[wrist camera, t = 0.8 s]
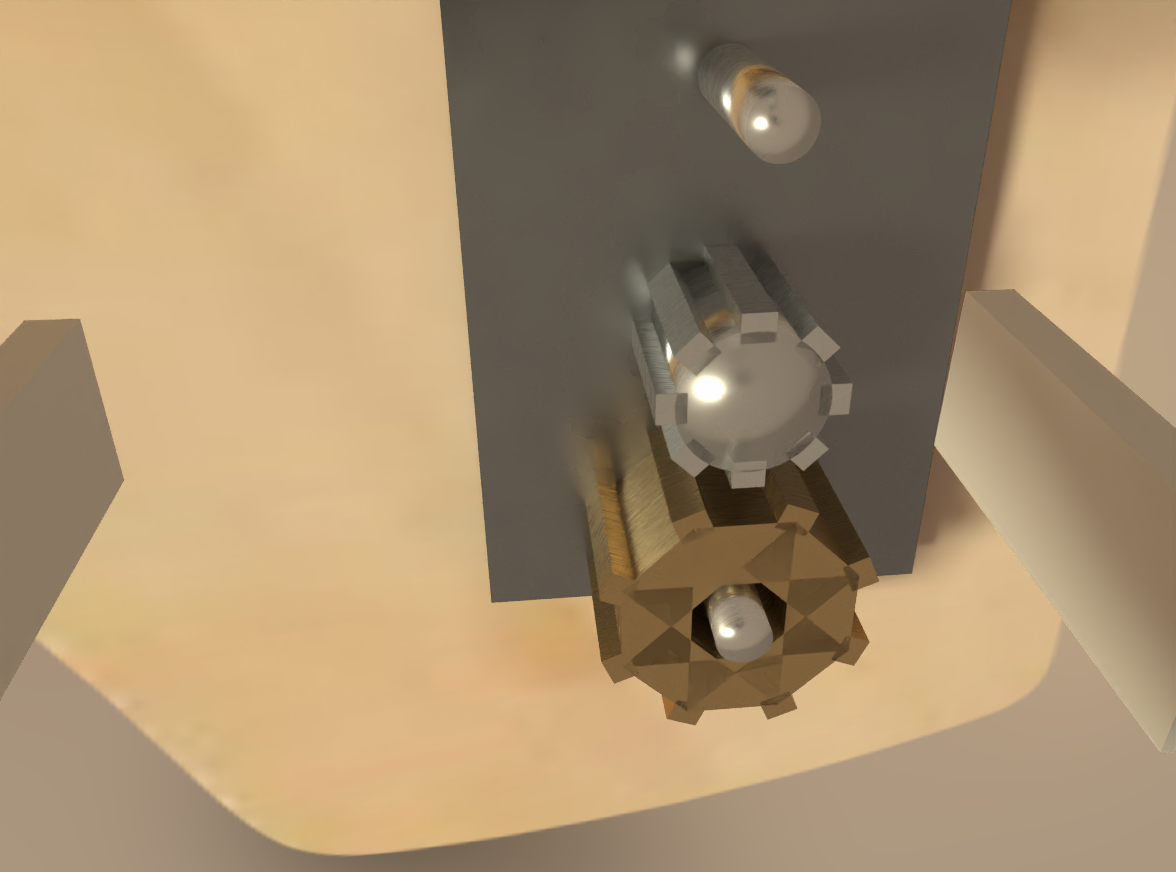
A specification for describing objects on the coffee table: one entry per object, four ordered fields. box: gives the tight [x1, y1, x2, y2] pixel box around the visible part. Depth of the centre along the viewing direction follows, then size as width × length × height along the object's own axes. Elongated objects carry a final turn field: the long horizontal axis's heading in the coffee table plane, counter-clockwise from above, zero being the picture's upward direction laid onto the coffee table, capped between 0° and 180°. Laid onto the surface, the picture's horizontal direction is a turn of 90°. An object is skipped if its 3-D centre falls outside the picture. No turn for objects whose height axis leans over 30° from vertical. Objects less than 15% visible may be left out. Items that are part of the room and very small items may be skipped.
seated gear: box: [586, 428, 879, 725], centre depth 39 cm, size 10×10×6 cm
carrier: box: [440, 0, 1012, 663], centre depth 35 cm, size 24×18×9 cm
